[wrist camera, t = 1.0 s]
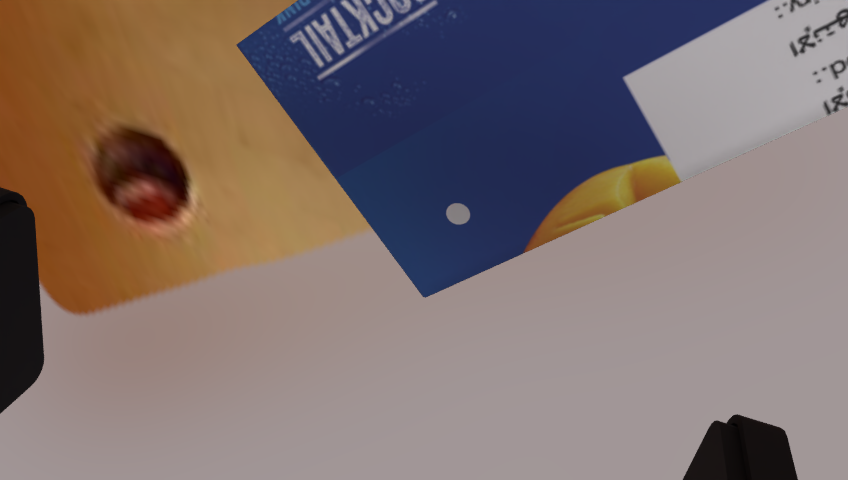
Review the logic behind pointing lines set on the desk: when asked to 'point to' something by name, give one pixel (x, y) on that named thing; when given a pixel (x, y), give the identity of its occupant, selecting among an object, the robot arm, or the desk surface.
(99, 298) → the desk surface
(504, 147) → the juice carton
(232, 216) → the desk surface
